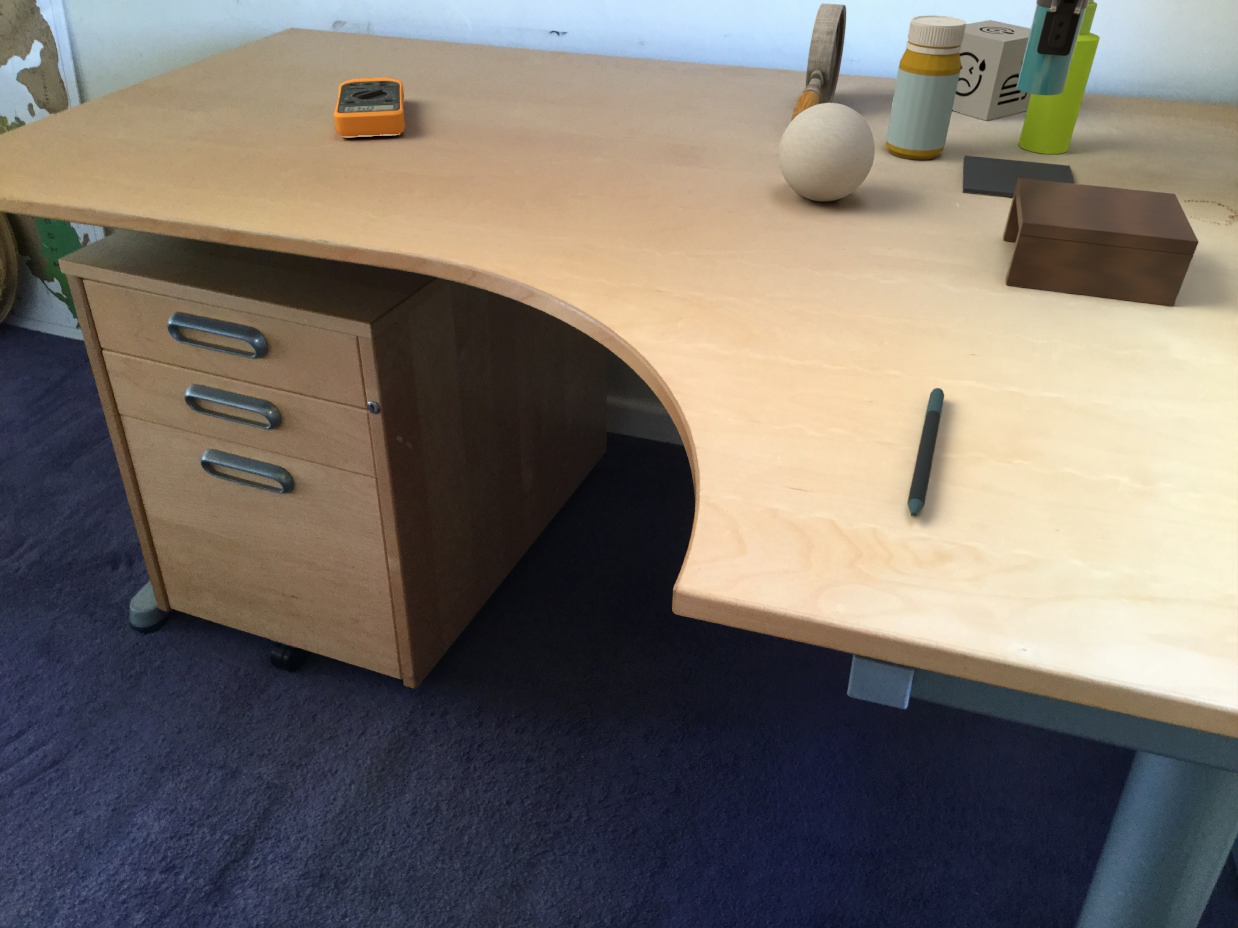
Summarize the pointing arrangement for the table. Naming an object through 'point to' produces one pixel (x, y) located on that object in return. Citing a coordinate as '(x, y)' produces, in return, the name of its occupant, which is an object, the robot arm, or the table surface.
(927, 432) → the pen
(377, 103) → the multimeter
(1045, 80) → the spice jar
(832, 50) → the magnifying glass
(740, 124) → the table surface
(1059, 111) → the soap dispenser
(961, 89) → the icon cube
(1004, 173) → the mat
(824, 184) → the ball
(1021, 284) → the wooden box
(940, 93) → the bottle
